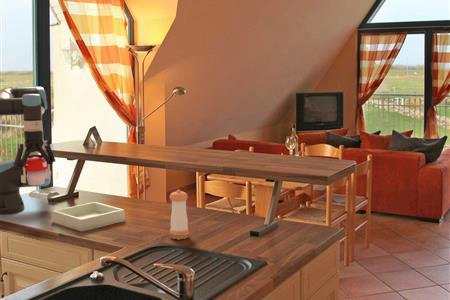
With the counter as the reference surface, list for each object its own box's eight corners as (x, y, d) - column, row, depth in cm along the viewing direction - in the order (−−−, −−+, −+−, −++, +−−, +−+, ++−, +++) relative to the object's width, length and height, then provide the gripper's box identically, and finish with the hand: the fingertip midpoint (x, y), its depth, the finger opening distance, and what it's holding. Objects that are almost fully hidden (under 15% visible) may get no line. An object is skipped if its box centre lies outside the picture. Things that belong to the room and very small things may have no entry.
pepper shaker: (181, 241, 222) (180, 192, 220) (166, 238, 226) (165, 190, 223) (192, 236, 228) (191, 189, 226) (177, 234, 232) (176, 187, 229)
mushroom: (53, 181, 257) (51, 154, 255) (43, 186, 246) (41, 158, 244) (30, 181, 258) (28, 154, 256) (19, 186, 247) (17, 158, 245)
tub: (52, 222, 252) (52, 210, 251) (95, 212, 268) (94, 201, 267) (81, 231, 237) (80, 219, 236) (124, 220, 253) (124, 209, 252)
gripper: (11, 133, 237) (14, 185, 241) (62, 128, 254) (64, 177, 258) (3, 131, 243) (6, 183, 246) (53, 127, 259) (55, 175, 263)
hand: (36, 180), depth 252 cm, fingers closed on mushroom, 11 cm apart
